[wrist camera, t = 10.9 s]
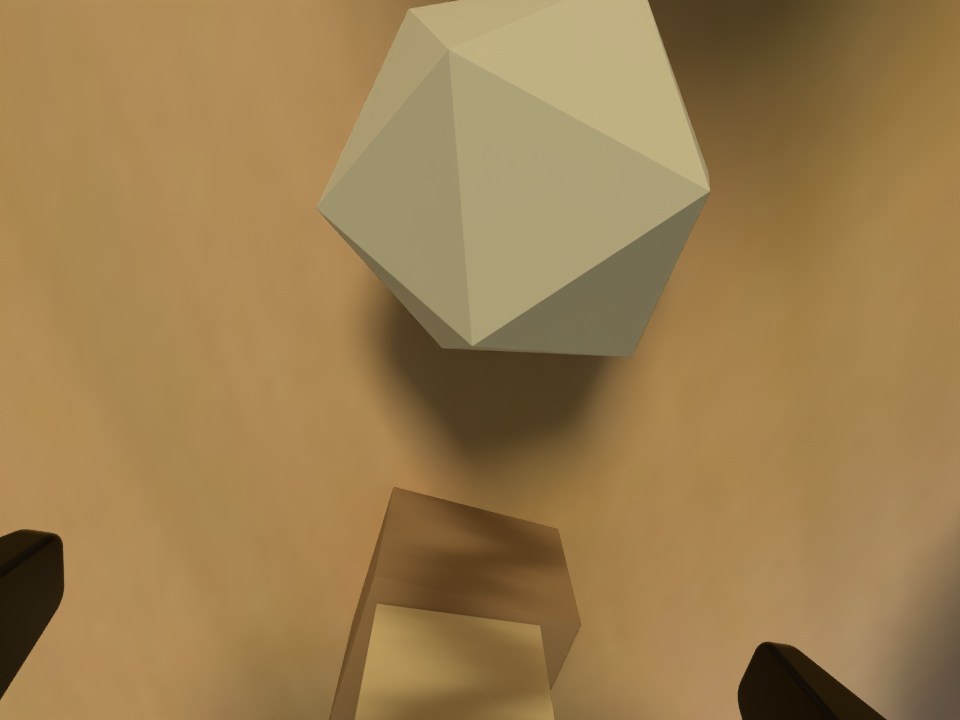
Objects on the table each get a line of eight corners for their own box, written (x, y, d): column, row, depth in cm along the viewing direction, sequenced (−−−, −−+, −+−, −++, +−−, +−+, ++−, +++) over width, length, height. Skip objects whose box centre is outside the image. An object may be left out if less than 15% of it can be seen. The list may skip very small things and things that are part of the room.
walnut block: (557, 526, 23) (581, 624, 18) (504, 651, 25) (513, 769, 20) (394, 484, 22) (374, 575, 17) (353, 617, 24) (326, 731, 19)
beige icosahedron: (459, 362, 21) (721, 461, 13) (216, 245, 15) (440, 305, 8) (553, 149, 22) (855, 129, 14) (353, -46, 16) (691, -260, 8)
